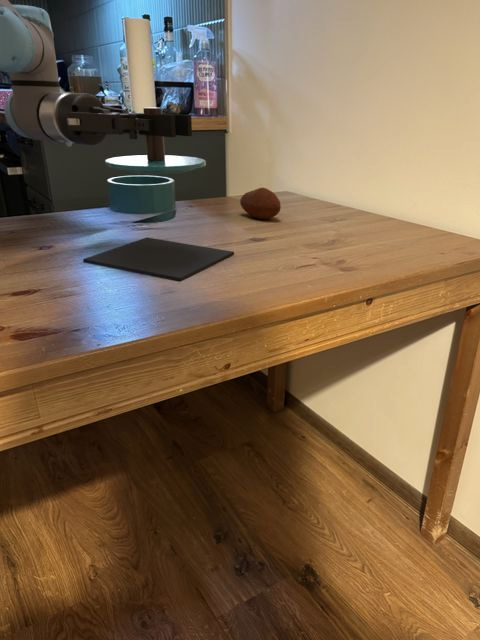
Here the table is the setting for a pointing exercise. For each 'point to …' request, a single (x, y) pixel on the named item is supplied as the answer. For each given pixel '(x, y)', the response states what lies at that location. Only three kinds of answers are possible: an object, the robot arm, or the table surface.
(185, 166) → the tin lid
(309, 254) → the table surface
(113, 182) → the green round tin
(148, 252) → the placemat
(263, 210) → the potato
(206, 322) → the table surface
